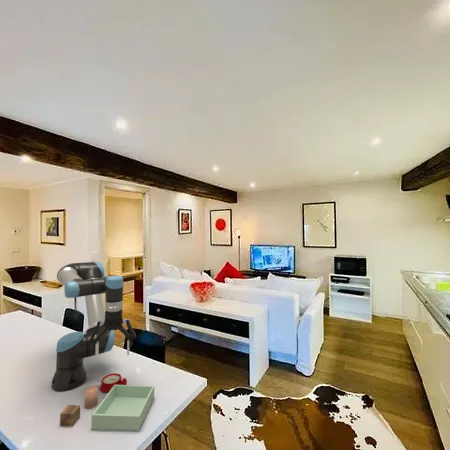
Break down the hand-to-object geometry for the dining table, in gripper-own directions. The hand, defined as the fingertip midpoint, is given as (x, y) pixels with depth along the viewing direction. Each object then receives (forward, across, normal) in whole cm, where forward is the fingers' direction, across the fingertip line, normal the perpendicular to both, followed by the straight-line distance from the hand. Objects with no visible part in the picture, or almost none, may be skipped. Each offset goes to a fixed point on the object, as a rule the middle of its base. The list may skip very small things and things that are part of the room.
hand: (112, 355), depth 121 cm
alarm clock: (+19, 0, +6) cm, 20 cm away
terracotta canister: (+19, -8, -5) cm, 21 cm away
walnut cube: (+19, -13, -14) cm, 27 cm away
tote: (+18, +8, -14) cm, 24 cm away
